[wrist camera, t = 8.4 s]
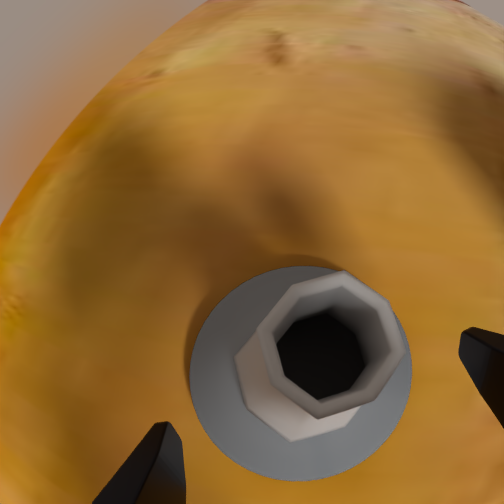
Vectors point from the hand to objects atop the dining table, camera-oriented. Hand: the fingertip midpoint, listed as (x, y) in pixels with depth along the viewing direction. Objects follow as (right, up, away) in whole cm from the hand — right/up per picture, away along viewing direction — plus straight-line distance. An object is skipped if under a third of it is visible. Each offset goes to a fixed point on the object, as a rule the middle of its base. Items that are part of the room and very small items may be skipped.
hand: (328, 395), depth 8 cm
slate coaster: (+1, -3, +8) cm, 9 cm away
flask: (+1, -2, +8) cm, 8 cm away
